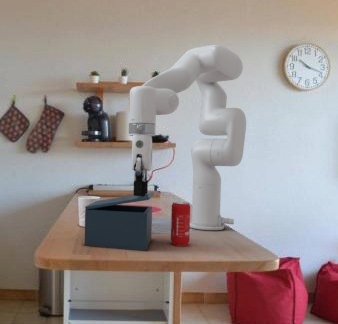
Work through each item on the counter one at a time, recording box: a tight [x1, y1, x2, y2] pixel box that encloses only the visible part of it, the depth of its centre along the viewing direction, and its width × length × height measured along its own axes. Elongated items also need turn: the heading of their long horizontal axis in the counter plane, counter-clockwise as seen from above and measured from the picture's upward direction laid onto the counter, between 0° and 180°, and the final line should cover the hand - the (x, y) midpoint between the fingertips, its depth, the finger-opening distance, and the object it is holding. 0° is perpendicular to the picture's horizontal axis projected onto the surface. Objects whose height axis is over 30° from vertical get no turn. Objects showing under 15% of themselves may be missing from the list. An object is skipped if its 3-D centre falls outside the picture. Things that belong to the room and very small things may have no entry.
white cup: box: [77, 195, 101, 228], centre depth 137 cm, size 8×8×10 cm
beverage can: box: [170, 201, 191, 247], centre depth 112 cm, size 5×5×12 cm
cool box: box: [83, 204, 153, 252], centre depth 112 cm, size 17×14×10 cm
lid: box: [85, 181, 155, 209], centre depth 112 cm, size 18×14×6 cm
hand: (140, 194), depth 110 cm, fingers closed on lid, 5 cm apart
